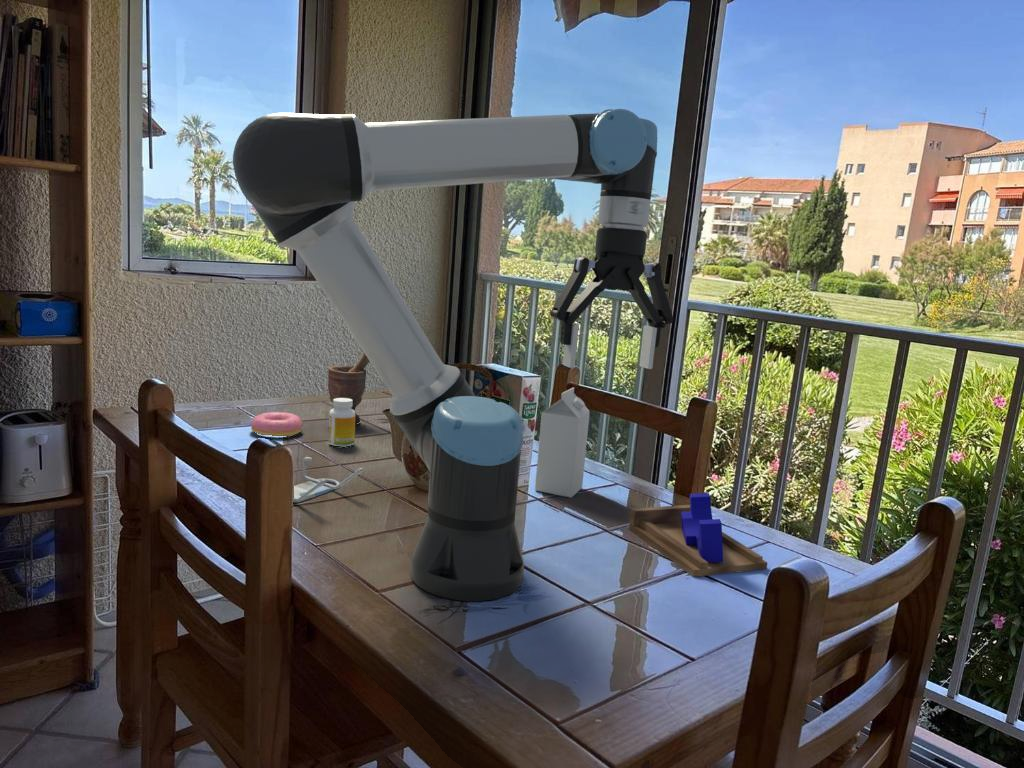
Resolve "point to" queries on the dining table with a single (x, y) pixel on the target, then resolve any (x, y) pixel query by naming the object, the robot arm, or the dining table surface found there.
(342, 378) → the mortar and pestle
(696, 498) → the blue stepped block
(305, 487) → the wall mount rack
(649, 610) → the dining table surface
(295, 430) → the doughnut
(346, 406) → the supplement bottle
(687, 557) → the tray
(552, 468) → the milk carton
